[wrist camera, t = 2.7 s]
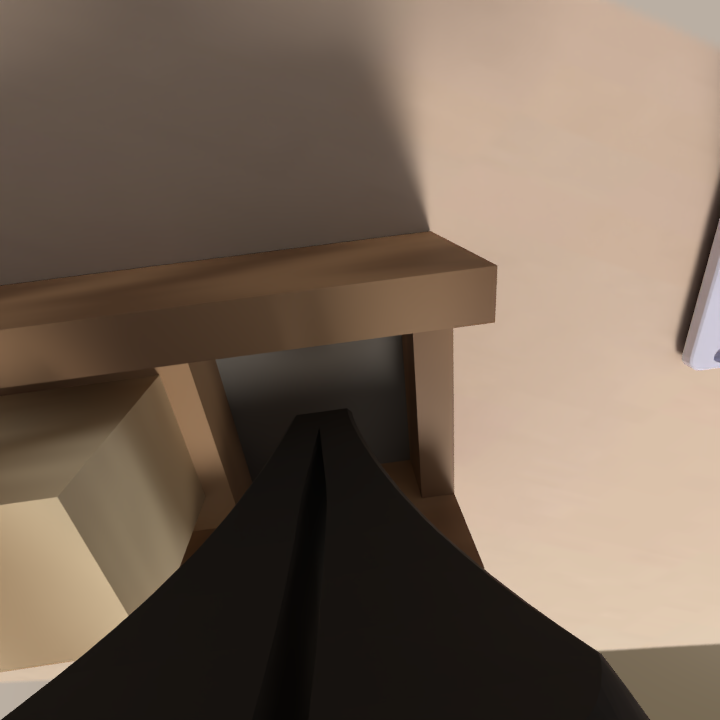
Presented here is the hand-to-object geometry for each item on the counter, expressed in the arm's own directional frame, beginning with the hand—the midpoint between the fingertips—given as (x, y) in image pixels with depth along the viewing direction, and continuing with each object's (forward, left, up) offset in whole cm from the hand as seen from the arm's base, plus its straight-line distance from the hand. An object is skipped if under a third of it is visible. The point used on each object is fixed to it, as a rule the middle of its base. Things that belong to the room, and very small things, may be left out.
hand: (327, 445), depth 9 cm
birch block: (+6, 0, -1) cm, 6 cm away
